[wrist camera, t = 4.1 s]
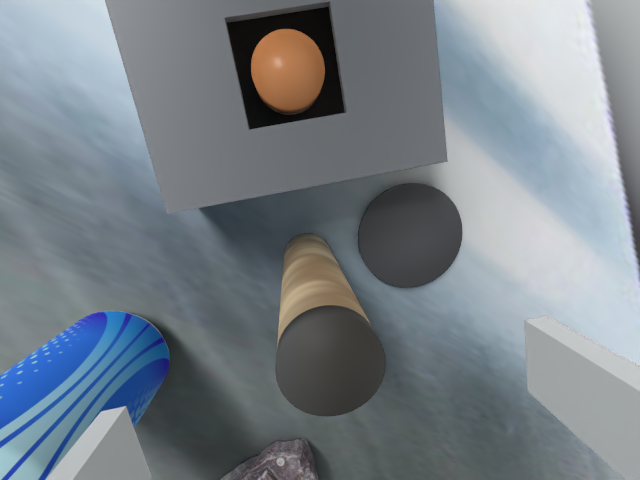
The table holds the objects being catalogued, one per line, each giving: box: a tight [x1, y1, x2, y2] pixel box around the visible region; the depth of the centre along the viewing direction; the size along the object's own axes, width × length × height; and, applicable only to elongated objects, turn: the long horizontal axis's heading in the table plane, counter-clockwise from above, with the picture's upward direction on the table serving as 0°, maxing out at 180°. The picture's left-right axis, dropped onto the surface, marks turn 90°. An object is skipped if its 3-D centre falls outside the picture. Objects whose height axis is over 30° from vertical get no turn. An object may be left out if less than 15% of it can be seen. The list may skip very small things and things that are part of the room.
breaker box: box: [105, 0, 447, 214], centre depth 21 cm, size 18×14×6 cm
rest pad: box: [358, 184, 462, 287], centre depth 27 cm, size 9×9×1 cm
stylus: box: [276, 233, 386, 416], centre depth 19 cm, size 4×4×16 cm
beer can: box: [0, 311, 170, 480], centre depth 19 cm, size 8×8×16 cm
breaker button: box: [251, 29, 325, 115], centre depth 20 cm, size 4×4×2 cm
